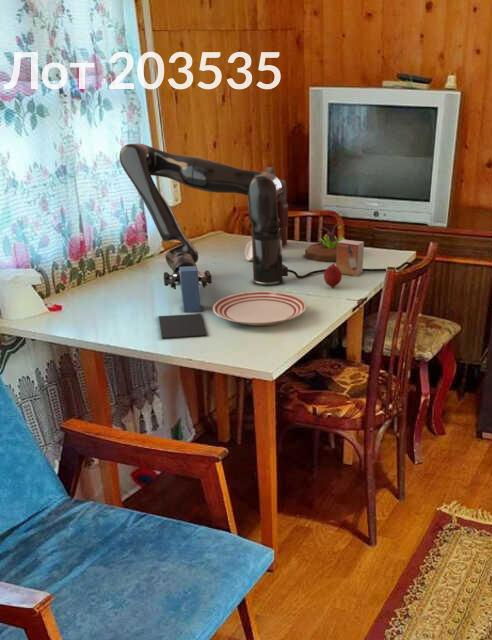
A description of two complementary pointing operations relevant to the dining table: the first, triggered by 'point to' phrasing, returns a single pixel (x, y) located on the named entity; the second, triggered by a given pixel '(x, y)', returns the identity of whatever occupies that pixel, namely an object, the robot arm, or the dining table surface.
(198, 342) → the dining table surface
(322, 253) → the plant
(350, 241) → the small box
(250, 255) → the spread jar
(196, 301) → the blue block
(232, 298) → the dinner plate
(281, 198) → the toy vending machine
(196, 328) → the mat
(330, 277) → the onion
